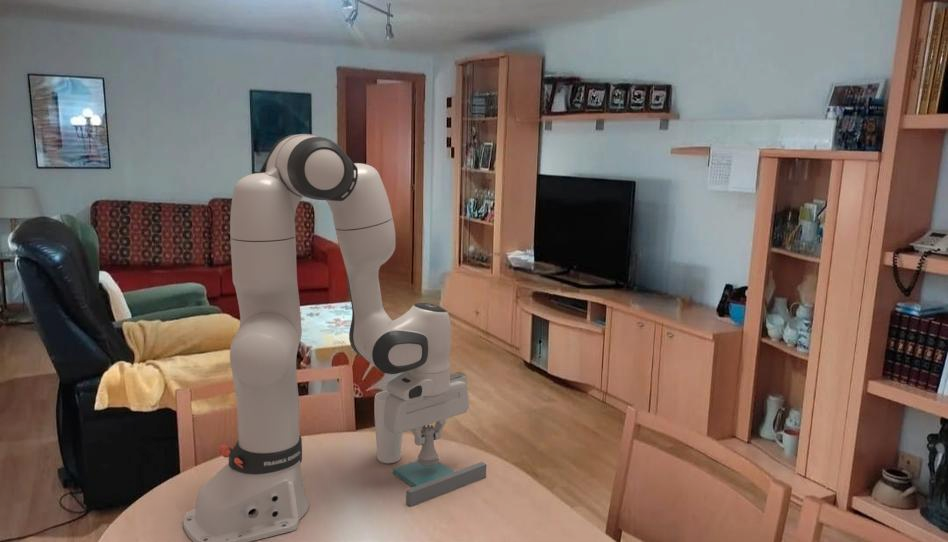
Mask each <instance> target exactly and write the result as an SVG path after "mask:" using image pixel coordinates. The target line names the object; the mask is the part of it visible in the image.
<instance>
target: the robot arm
mask: <svg viewBox="0 0 948 542" xmlns="http://www.w3.org/2000/svg"><path fill="white" fill-rule="evenodd" d="M259 171H260V172H256V173H251V174H248V175H245V176H244V177H242V178H240V179H239V180H238V181H237V182H236V183H235V185H234V187H233V191H232V196H231V197H232V198H231V206H230V218H229V219H230V221H229V223H230V224H229V228H230V229H229V231H230V233H229V234H230V255H231V257H230V259H231V273H232V283H233V286H234V288H235V292H236V298H237V304H238V310H239V328H238V330H237V332H236V333H235V335H234V337H233V339H232V340H231V343H230V350H229V363H230V364H229V365H230V369H231V375H232V380H233V381H232V382H233V385H234V387H233V388H234V392H235V397H236V398H235V399H236V404H237V405H236V407H237V435H238V436H237V437H238V439H237V441H236V443H235V445H234V447H233V448H232V447H230V445H228V444H227V443H223V444H221V445H220V447H218V453H219V454H220V455H221V456H222V457H223V458H228V463H226V465H225V466H224V467H223V468H222V469H220V470H219V471H218V472H216V474H215V475H214V476H213V477H212V478H210V480H208V481H207V482H206V483H205V484H203V486H201V488H200V490H199V492H198V494H197V499H196V505H195V508H192V509H191V510H188V511H186V512H185V513H184V515H183V521H182V524H183V525H182V526H183V530H184V532H185V534H186V535H187V537H188V538H189V539H190V540H191V541H192V542H254V541H257V540H261V539H262V540H263V539H266V538H269V537H273V536H277V535H281V534H282V535H283V534H285V533H290V532H294V531H295V530H297V529H298V527H299V523H300V520H301V519H302V518H303V517H304V516H305V515H306V513H307V512H308V510H309V505H310V504H309V500H308V498H307V495H306V494H307V493H306V491H305V487H304V481H303V475H302V467H301V466H302V465H301V464H302V461H303V441H302V440H303V439H302V436H301V434H300V397H299V389H298V378H297V377H298V376H297V375H298V374H297V355H298V351H299V347H300V342H301V340H302V331H303V330H302V318H301V316H302V315H301V304H300V295H299V287H298V285H299V284H298V273H297V271H298V270H297V267H298V266H297V243H296V242H297V241H296V239H297V238H296V225H295V224H296V222H295V218H296V212H297V208H298V205H299V204H300V202H302V201H301V200H303V198H306V199H311V200H315V201H326V203H327V204H328V206H329V209H330V211H331V213H332V219H333V224H334V230H335V234H336V238H337V243H338V246H339V249H340V253H341V256H342V259H343V263H344V267H345V270H346V271H345V273H346V278H347V280H346V281H347V285H348V290H349V291H348V292H349V297H350V304H351V311H352V315H351V321H350V327H349V334H348V336H349V337H348V339H349V343H350V346H351V348H352V349H353V351H354V352H355V353H356V354H357V355H358V356H360V357H362V358H363V359H365V360H367V362H368V363H369V364H370V365H372V366H373V367H374V368H375V369H377V370H379V371H380V372H382V373H383V374H384V373H385V374H387V375H398V374H399V375H398V376H396V377H394V378H393V379H391V380H390V381H388V382H387V384H386V391H388V392H389V393H391V394H389V395H388V397H387V399H386V402H385V409H384V426H385V427H386V429H387V430H389V431H390V432H392V433H394V434H399V433H402V432H403V433H405V432H409V431H411V433H412V434H413V436H414V444H415V445H416V446H418V447H419V446H422V445H423V444H425V436H422V434H421V433H420V431H421V429H422V426H425V425H426V426H427V425H432V424H433V423H435V424H434V425H433V427H434V430H435V433H434V434H433V436H434V441H437V440H440V439H441V438H442V437H441V436H442V434H441V433H442V430H443V429H444V427H445V425H446V422H447V421H446V419H447V420H448V419H450V418H453V417H456V416H460V415H462V414H465V413H467V412H468V409H469V408H470V399H469V398H470V397H469V388H468V376H467V375H466V373H464V372H462V371H456V372H454V373H451V362H450V356H449V355H450V352H451V349H452V326H451V325H452V324H451V318H450V315H449V312H448V311H447V310H446V309H445V308H443V307H441V306H439V305H437V304H433V303H429V302H418V303H414V304H412V306H411V307H410V309H408V310H407V311H406V312H405V313H404V314H402V315H401V316H399V317H398V318H396V319H392V317H391V318H390V316H389V315H388V313H387V312H386V311H385V309H384V306H383V300H382V299H383V298H382V292H381V286H380V279H379V271H380V268H381V266H382V265H384V264H385V263H386V262H387V261H388V260H390V258H392V256H393V254H394V253H395V250H396V228H395V222H394V218H393V214H392V213H393V212H392V208H391V204H390V200H389V197H388V193H387V190H386V188H385V185H384V183H383V180H382V178H381V175H380V173H379V171H377V169H376V168H375V167H374V166H371V165H369V164H367V163H363V162H362V163H359V162H355V163H354V162H353V160H352V159H350V157H349V156H348V155H347V153H346V152H345V151H344V149H342V147H341V146H340V145H338V144H337V143H336V142H334V141H333V140H331V139H329V138H327V137H322V136H317V135H314V134H311V133H301V134H300V133H299V134H290V135H287V136H284V137H282V138H281V139H279V140H277V142H276V143H274V145H273V146H272V147H271V149H270V151H269V153H268V155H267V158H266V159H265V161H264V163H263V164H262V166H261V169H260V170H259Z"/></svg>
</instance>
